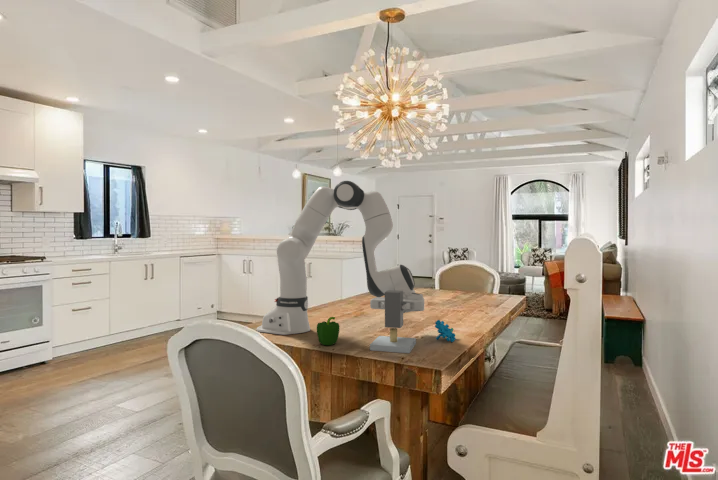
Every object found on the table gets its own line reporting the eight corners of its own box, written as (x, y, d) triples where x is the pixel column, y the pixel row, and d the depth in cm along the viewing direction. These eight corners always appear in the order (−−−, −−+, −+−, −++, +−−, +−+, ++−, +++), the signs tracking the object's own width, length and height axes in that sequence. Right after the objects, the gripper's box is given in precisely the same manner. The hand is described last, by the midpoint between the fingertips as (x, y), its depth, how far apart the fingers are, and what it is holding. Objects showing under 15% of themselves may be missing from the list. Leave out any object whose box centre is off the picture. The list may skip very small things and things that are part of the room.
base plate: (369, 350, 158) (369, 331, 158) (379, 341, 171) (379, 323, 171) (409, 353, 154) (409, 334, 154) (415, 343, 167) (415, 326, 167)
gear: (447, 340, 165) (432, 318, 171) (437, 350, 168) (422, 328, 173) (462, 339, 174) (447, 318, 179) (452, 348, 176) (437, 327, 181)
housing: (384, 327, 160) (384, 292, 160) (388, 324, 166) (388, 290, 166) (400, 328, 159) (400, 292, 159) (403, 324, 164) (403, 290, 164)
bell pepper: (315, 347, 162) (315, 319, 162) (317, 341, 170) (317, 315, 170) (339, 347, 162) (339, 319, 162) (339, 341, 170) (339, 315, 170)
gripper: (374, 292, 178) (365, 297, 164) (426, 294, 172) (421, 299, 159) (374, 308, 178) (365, 314, 164) (426, 310, 172) (421, 317, 159)
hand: (393, 307), depth 161 cm, fingers closed on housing, 6 cm apart
